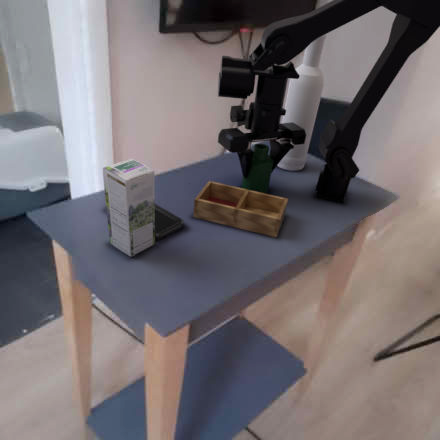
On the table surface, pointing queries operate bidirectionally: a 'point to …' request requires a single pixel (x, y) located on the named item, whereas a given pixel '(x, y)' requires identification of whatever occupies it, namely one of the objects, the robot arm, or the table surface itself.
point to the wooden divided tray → (240, 208)
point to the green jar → (259, 170)
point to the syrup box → (130, 206)
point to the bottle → (304, 103)
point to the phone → (166, 223)
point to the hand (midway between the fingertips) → (257, 175)
